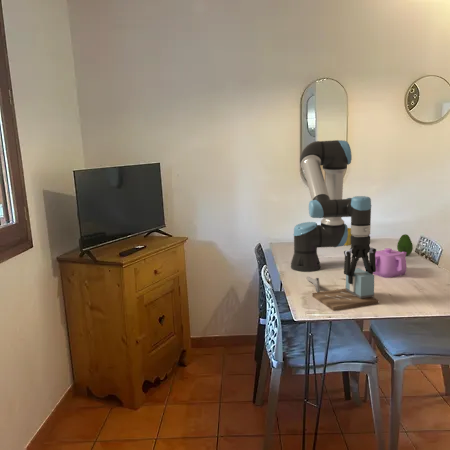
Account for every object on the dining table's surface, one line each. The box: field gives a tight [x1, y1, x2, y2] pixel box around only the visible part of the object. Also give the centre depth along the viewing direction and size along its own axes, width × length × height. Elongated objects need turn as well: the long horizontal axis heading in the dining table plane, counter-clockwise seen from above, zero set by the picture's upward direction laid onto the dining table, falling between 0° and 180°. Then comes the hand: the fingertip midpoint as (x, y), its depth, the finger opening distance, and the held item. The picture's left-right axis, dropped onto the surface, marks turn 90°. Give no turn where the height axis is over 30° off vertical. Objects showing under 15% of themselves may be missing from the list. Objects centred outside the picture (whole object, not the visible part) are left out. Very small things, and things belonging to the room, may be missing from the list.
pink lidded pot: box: [373, 247, 408, 279], centre depth 207 cm, size 17×17×12 cm
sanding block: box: [345, 267, 375, 299], centre depth 176 cm, size 11×6×9 cm, turn 16°
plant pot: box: [343, 227, 352, 246], centre depth 270 cm, size 10×10×10 cm
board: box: [311, 287, 379, 311], centre depth 175 cm, size 17×20×2 cm
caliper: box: [306, 276, 321, 293], centre depth 195 cm, size 20×1×6 cm, turn 3°
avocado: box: [396, 233, 414, 257], centre depth 238 cm, size 8×8×12 cm
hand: (359, 289), depth 176 cm, fingers closed on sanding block, 6 cm apart
